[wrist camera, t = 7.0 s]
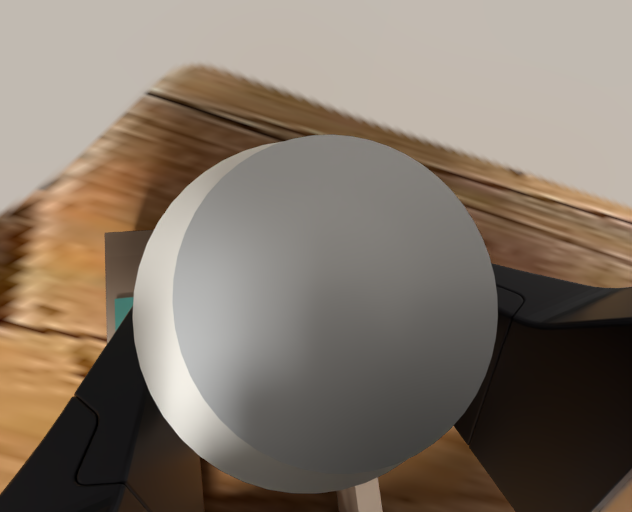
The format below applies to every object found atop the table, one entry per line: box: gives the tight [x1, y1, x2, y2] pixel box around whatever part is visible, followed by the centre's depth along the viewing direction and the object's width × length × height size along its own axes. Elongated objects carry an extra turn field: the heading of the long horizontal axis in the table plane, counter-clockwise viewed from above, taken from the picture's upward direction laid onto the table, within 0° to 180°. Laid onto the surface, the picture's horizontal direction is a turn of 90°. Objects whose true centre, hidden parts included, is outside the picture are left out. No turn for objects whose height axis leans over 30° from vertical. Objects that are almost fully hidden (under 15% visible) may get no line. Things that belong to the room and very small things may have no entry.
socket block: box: [105, 230, 383, 512], centre depth 16 cm, size 16×10×4 cm, turn 7°
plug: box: [132, 135, 498, 494], centre depth 9 cm, size 4×4×12 cm
